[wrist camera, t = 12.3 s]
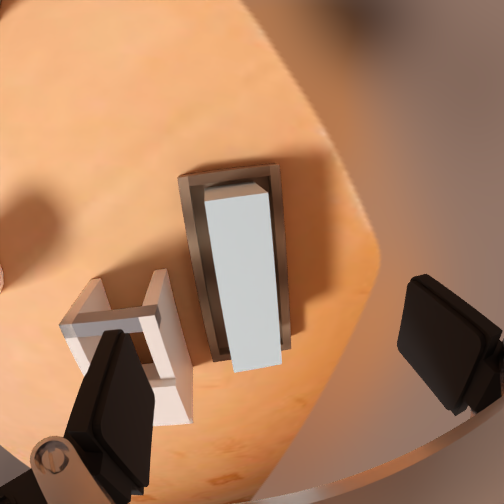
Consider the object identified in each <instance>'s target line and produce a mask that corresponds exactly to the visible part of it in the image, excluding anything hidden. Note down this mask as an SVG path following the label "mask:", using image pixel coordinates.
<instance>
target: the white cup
mask: <svg viewBox="0 0 504 504" xmlns="http://www.w3.org/2000/svg"><path fill="white" fill-rule="evenodd" d="M3 284H4V280H3V270H2V267H1V265H0V293H1V290H2V287H3Z"/></svg>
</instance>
